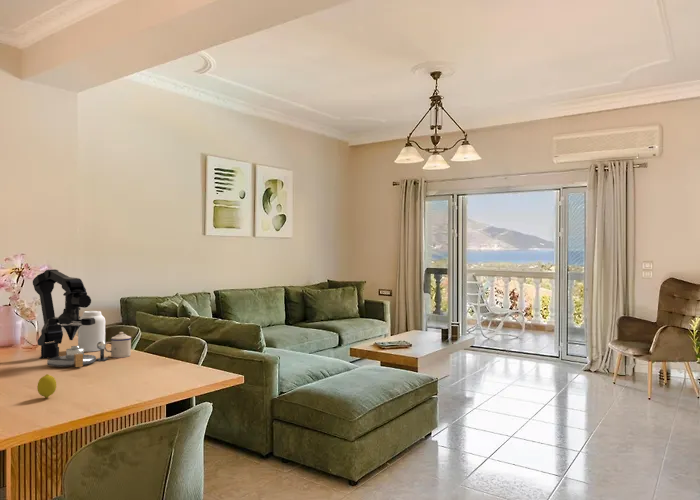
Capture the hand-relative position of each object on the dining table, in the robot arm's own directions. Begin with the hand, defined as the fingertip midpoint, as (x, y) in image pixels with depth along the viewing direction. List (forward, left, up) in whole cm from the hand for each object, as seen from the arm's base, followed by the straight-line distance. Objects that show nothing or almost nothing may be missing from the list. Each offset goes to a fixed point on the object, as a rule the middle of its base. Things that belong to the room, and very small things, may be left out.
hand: (71, 340), depth 233 cm
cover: (+4, -4, -7) cm, 9 cm away
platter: (+4, -7, -9) cm, 12 cm away
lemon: (+18, -63, -10) cm, 66 cm away
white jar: (-2, +30, -10) cm, 32 cm away
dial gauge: (+13, +2, -10) cm, 16 cm away
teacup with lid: (+17, +11, -10) cm, 23 cm away
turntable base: (+3, -6, -10) cm, 12 cm away
